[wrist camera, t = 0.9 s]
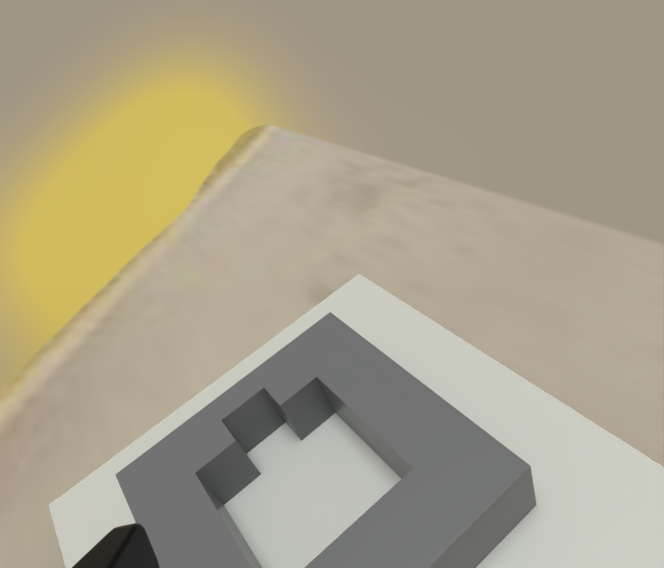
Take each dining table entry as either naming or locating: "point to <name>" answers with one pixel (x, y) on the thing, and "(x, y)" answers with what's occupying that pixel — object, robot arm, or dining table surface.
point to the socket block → (374, 461)
